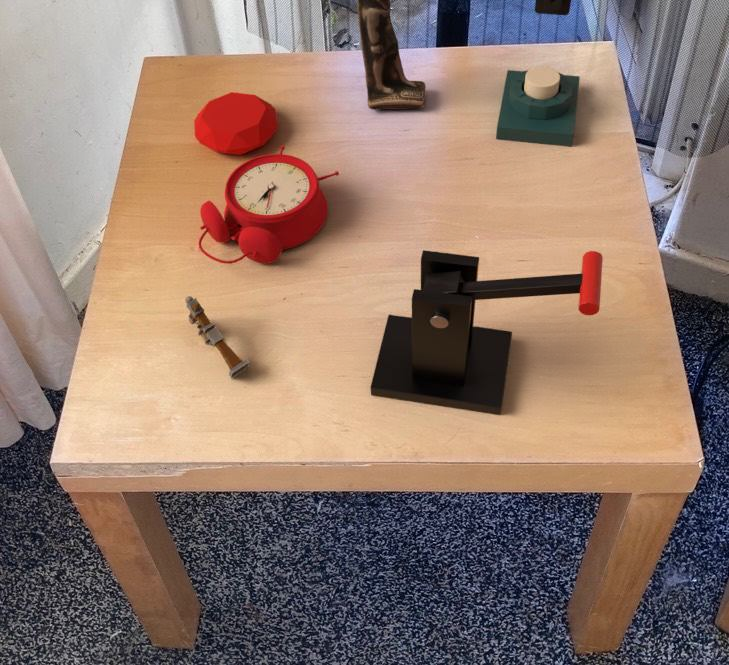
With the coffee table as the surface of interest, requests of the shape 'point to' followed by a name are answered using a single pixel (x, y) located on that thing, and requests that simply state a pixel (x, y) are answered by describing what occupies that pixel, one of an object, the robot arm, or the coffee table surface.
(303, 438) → the coffee table surface
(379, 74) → the statue
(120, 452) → the coffee table surface
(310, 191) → the alarm clock
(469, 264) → the black lever base
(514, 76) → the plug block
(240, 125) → the gemstone
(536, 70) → the power button
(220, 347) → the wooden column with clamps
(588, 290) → the red handled lever
